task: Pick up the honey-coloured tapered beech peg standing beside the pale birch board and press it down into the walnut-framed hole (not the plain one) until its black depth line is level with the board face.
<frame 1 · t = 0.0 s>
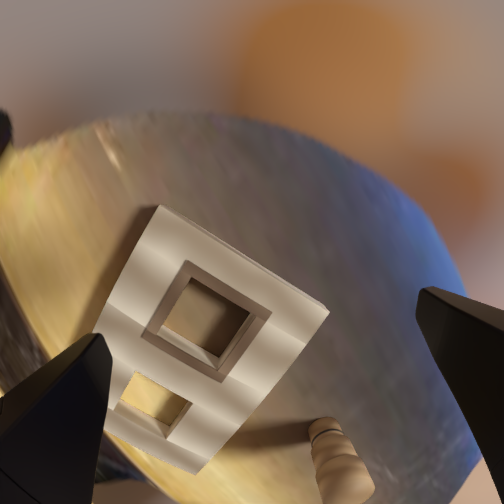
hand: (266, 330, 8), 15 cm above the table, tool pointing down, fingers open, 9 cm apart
board: (179, 359, 24), on the table
peg: (323, 428, 26), on the table
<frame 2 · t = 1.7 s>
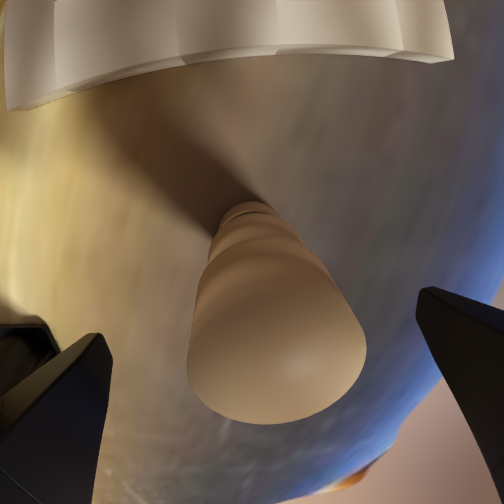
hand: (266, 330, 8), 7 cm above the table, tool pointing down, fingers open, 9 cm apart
peg: (250, 232, 15), on the table
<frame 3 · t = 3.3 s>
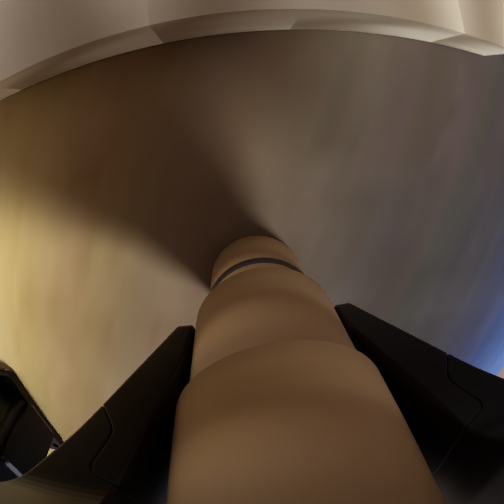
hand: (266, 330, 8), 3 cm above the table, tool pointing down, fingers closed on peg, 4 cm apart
peg: (256, 277, 11), on the table, touching gripper
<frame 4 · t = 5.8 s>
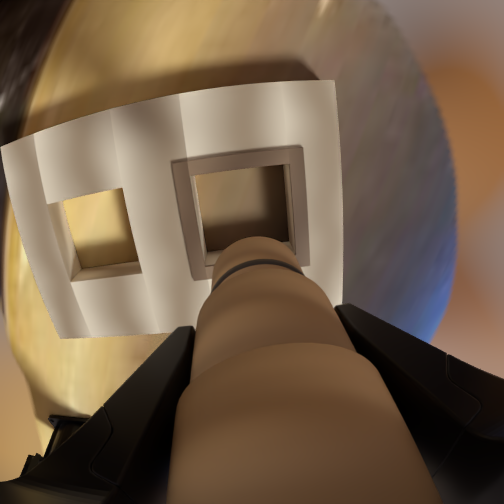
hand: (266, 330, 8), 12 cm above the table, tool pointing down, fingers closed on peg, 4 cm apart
board: (169, 216, 19), on the table
peg: (256, 278, 11), point 9 cm above the table, touching gripper
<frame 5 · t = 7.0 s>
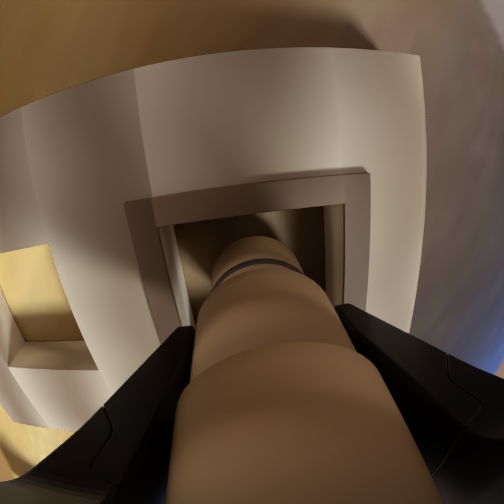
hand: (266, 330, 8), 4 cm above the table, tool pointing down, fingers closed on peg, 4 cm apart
board: (135, 281, 11), on the table
peg: (256, 277, 11), point 1 cm above the table, touching gripper
when the fingers open (3 cm above the table, at t = 8.4 s): peg stays where it is, resting in board.
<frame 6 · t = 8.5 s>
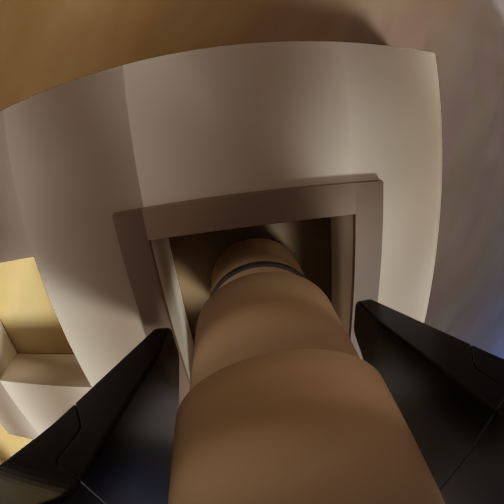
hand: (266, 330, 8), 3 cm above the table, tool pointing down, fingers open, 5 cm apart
board: (128, 294, 11), on the table
peg: (256, 280, 11), resting in board
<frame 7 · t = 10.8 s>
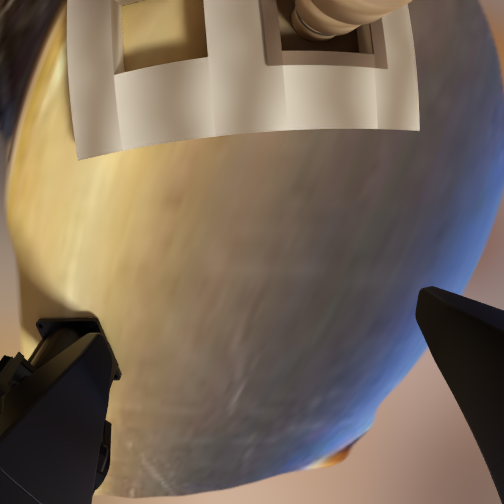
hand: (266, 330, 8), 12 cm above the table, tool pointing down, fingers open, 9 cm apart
board: (240, 21, 15), on the table
peg: (315, 20, 15), resting in board
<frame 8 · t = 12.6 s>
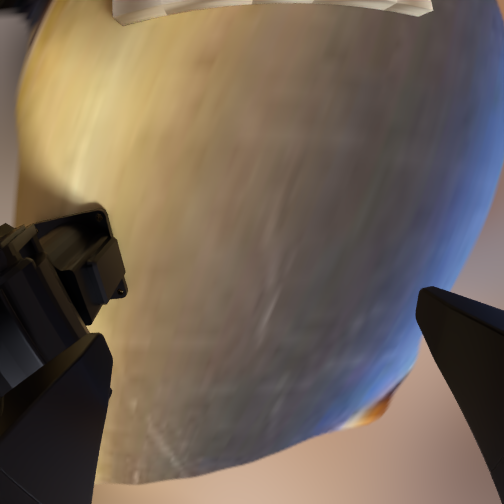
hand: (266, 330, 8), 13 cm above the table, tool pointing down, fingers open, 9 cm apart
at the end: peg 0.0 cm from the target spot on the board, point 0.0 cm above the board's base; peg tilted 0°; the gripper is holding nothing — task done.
